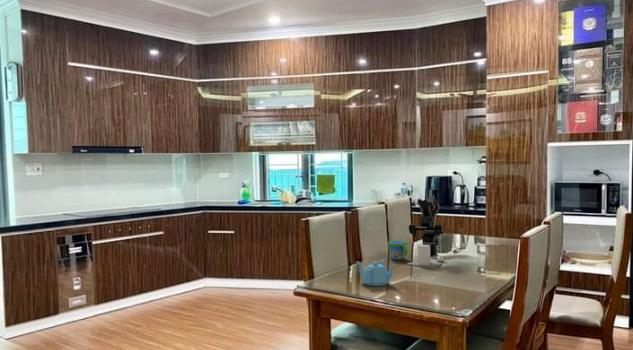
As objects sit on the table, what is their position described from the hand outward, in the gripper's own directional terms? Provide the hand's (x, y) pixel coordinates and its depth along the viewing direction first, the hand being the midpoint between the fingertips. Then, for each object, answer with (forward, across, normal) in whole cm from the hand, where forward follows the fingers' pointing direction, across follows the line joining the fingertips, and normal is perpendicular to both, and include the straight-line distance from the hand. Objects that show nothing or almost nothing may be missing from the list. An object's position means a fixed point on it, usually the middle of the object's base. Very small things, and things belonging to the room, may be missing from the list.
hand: (424, 241), depth 258 cm
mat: (+12, 0, +5) cm, 13 cm away
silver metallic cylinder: (+6, +8, +12) cm, 15 cm away
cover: (+12, 0, +4) cm, 13 cm away
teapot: (+43, -17, -26) cm, 52 cm away
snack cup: (+3, -17, +14) cm, 23 cm away
